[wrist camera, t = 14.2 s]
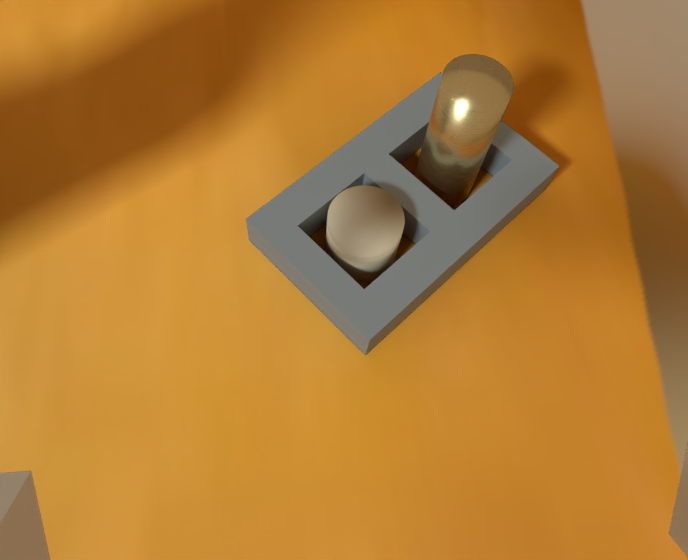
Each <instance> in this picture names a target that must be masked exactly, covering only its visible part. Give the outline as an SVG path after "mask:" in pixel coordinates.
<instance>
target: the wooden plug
mask: <svg viewBox="0 0 688 560" xmlns="http://www.w3.org/2000/svg"><path fill="white" fill-rule="evenodd" d="M404 225H405V217H404V212H403V209H402V207H401V205H400V204H399V202H398V201H397V200H396V198H395V197H394V196H392V195H391V194H390V193H388V192H387V191H385V190H383V189H381V188H378V187H374V186H367V185H361V186H354V187H351V188H348V189H346V190H344V191H342V192H341V193H339V194H338V195H337V196H336V197H335V198H334V199H333V201H332V202H331V204H330V206H329V209H328V215H327V228H326V243H325V252H326V253H327V254H328V255H329V256H330V257H331V258H332V259H333V260H334V261H335V262H336V263H337V264H338V265H339V266H340V267H341V268H342V269H343V270H345V271H346V272H347V273H348V274H349V275H350V276H351V277H352V278H353V279H354V280H355V281H369V280H373V279H376V278H378V277H379V276H380V275H381V274H382V273H383V272H385V271H386V270H387V269H388V268H389V267H390V266H391V265H392V264H393V263H394V260H395V257H396V253H397V250H398V247H399V243H400V240H401V236H402V233H403V229H404Z"/></svg>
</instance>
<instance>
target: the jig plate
mask: <svg viewBox="0 0 688 560" xmlns="http://www.w3.org/2000/svg"><path fill="white" fill-rule="evenodd" d="M441 78H442V73H441V72H440V73H438V74H437V75H436V76H434V77H433V78H432V79H431V80H429V81H428V82H427V83H425V84H424V85H423V86H421V87H420V88H419V89H417V90H416V91H415V92H413V93H412V94H411V95H409V96H408V97H407V98H405V99H404V100H403V101H401V102H400V103H399V104H397V105H396V106H395V107H393V108H392V109H391V110H390V111H388V112H387V113H386V114H384V115H383V116H382V117H380V118H379V119H378V120H376V121H375V122H374V123H372V124H371V125H370V126H368V127H367V128H366V129H364V130H363V131H362V132H360V133H359V134H358V135H356V136H355V137H354V138H352V139H351V140H350V141H349V142H347V143H346V144H345V145H343V146H342V147H341V148H339V149H338V150H337V151H335V152H334V153H333V154H331V155H330V156H329V157H327V158H326V159H325V160H323V161H322V162H321V163H319V164H318V165H317V166H315V167H314V168H313V169H311V170H310V171H309V172H308V173H306V174H305V175H304V176H302V177H301V178H300V179H298V180H297V181H296V182H294V183H293V184H292V185H290V186H289V187H288V188H286V189H285V190H284V191H282V192H281V193H280V194H278V195H277V196H276V197H274V198H273V199H272V200H270V201H269V202H268V203H267V204H265V205H264V206H263V207H261V208H260V209H259V210H257V211H256V212H255V213H253V214H252V215H251V216H249V217H248V218H247V219H246V222H247V228H248V235H249V240H250V241H251V242H252V243H253V244H254V245H255V246H256V247H257V248H258V249H259V250H260V251H261V252H262V253H263V254H264V255H265V256H266V257H267V258H268V259H269V260H270V261H271V262H272V263H273V264H274V265H275V266H276V267H277V268H278V269H279V270H280V271H281V272H282V273H283V274H284V275H285V276H286V277H287V278H288V279H289V280H290V281H291V282H292V283H293V284H294V285H295V286H296V287H297V288H298V289H299V290H300V291H301V292H302V293H303V294H304V295H305V296H306V297H307V298H308V299H309V300H310V301H311V302H312V303H313V304H314V305H315V306H316V307H317V308H318V309H319V310H320V311H321V312H322V313H323V314H324V315H325V316H326V317H327V318H328V319H329V320H330V321H331V322H332V323H333V324H334V325H335V326H336V327H337V328H338V329H340V330H341V331H342V332H343V333H344V334H345V335H346V336H347V337H348V338H349V339H350V340H351V341H352V342H353V343H354V344H355V345H356V346H357V347H358V348H359V349H360V350H361V351H362V352H363V353H364V354H365V355H366V354H367V353H368V352H370V351H371V350H372V349H373V348H374V347H375V346H376V345H377V344H378V343H379V342H380V341H381V340H383V339H384V338H385V337H386V336H387V335H388V334H389V333H390V332H391V331H392V330H393V329H394V328H396V327H397V326H398V325H399V324H400V323H401V322H402V321H403V320H404V319H405V318H406V317H407V316H409V315H410V314H411V313H412V312H413V311H414V310H415V309H416V308H417V307H418V306H419V305H420V304H421V303H423V302H424V301H425V300H426V299H427V298H428V297H429V296H430V295H431V294H432V293H433V292H434V291H436V290H437V289H438V288H439V287H440V286H441V285H442V284H443V283H444V282H445V281H446V280H447V279H449V278H450V277H451V276H452V275H453V274H454V273H455V272H456V271H457V270H458V269H459V268H460V267H461V266H463V265H464V264H465V263H466V262H467V261H468V260H469V259H470V258H471V257H472V256H473V255H474V254H476V253H477V252H478V251H479V250H480V249H481V248H482V247H483V246H484V245H485V244H486V243H487V242H489V241H490V240H491V239H492V238H493V237H494V236H495V235H496V234H497V233H498V232H499V231H500V230H501V229H503V228H504V227H505V226H506V225H507V224H508V223H509V222H510V221H511V220H512V219H513V218H514V217H516V216H517V215H518V214H519V213H520V212H521V211H522V210H523V209H524V208H525V207H526V206H527V205H529V204H530V203H531V202H532V201H533V200H534V199H535V198H536V197H537V196H538V195H539V194H540V193H542V192H543V191H544V190H545V189H546V187H547V186H548V184H549V183H550V181H551V179H552V178H553V176H554V175H555V173H556V171H557V170H558V168H559V167H560V166H559V165H558V164H556V163H555V162H554V161H553V160H551V159H550V158H549V157H548V156H546V155H545V154H544V153H543V152H541V151H540V150H539V149H537V148H536V147H535V146H534V145H532V144H531V143H530V142H529V141H527V140H526V139H525V138H523V137H522V136H521V135H520V134H518V133H517V132H516V131H515V130H513V129H512V128H511V127H510V126H508V125H507V124H506V123H504V122H503V121H502V120H501V121H500V124H499V126H498V128H497V131H496V133H495V135H494V137H493V140H492V142H491V144H490V147H489V149H488V151H487V154H486V156H485V158H484V161H483V163H482V165H481V167H482V168H484V169H485V170H486V171H487V172H488V173H490V174H491V175H492V176H493V177H492V178H491V179H490V180H489V181H487V182H486V183H485V184H484V185H483V186H482V187H481V188H479V189H478V190H477V191H476V192H475V193H474V194H473V195H471V196H470V197H469V198H468V199H467V200H466V201H465V202H463V203H462V204H461V205H460V206H459V207H458V208H457V209H455V210H453V209H452V208H451V207H450V206H448V205H447V204H446V203H445V202H444V201H443V200H441V199H440V198H439V197H438V196H437V195H436V194H435V193H433V192H432V191H431V190H430V189H429V188H428V187H426V186H425V185H424V184H423V183H422V182H421V181H419V180H418V179H417V178H416V177H415V176H414V175H412V174H411V173H410V172H409V171H408V170H407V169H405V168H404V167H403V166H402V165H401V163H402V162H403V161H405V160H406V159H407V158H408V157H410V156H411V155H412V154H413V153H415V152H416V151H417V150H418V149H420V148H421V147H422V146H423V142H424V139H425V135H426V131H427V128H428V124H429V121H430V117H431V114H432V110H433V106H434V103H435V99H436V96H437V92H438V88H439V85H440V81H441ZM361 185H367V186H374V187H378V188H381V189H383V190H385V191H387V192H388V193H390V194H391V195H392V196H394V197H395V198H396V200H397V201H398V202H399V204H400V205H401V207H402V209H403V212H404V217H405V225H404V229H403V234H404V235H405V236H406V237H408V238H409V239H410V240H411V241H412V242H413V243H414V244H415V245H414V246H413V247H412V248H411V249H410V250H409V251H407V252H406V253H405V254H404V255H403V256H402V257H401V258H399V259H398V260H397V261H396V262H395V263H394V264H393V265H391V266H390V267H389V268H388V269H387V270H386V271H385V272H383V273H382V274H381V275H380V276H379V277H378V278H377V279H375V280H374V281H373V282H372V283H371V284H370V285H369V286H367V287H366V288H365V289H363V288H362V287H361V286H360V285H359V284H358V283H357V282H356V281H355V280H354V279H353V278H352V277H351V276H350V275H349V274H348V273H347V272H346V271H345V270H343V269H342V268H341V267H340V266H339V265H338V264H337V263H336V262H335V261H334V260H333V259H332V258H331V257H330V256H329V255H328V254H327V253H326V252H325V251H324V250H322V249H321V248H320V247H319V246H318V245H317V244H316V243H315V242H314V241H313V240H312V239H311V238H310V236H311V235H312V234H314V233H315V232H316V231H317V230H319V229H320V228H321V227H322V226H324V225H325V224H326V223H327V215H328V209H329V206H330V204H331V202H332V201H333V199H334V198H335V197H336V196H337V195H338V194H339V193H341V192H342V191H344V190H346V189H348V188H351V187H354V186H361Z"/></svg>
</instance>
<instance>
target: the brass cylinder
mask: <svg viewBox="0 0 688 560" xmlns="http://www.w3.org/2000/svg"><path fill="white" fill-rule="evenodd" d="M513 90H514V83H513V79H512V76H511V74H510V73H509V71H508V70H507V69H506V68H505V67H504V66H503V65H502V64H501V63H499V62H498V61H496V60H494V59H492V58H490V57H487V56H484V55H477V54H468V55H462V56H459V57H457V58H455V59H453V60H452V61H450V62H449V63H448V64H447V65H446V67H445V69H444V71H443V74H442V78H441V81H440V85H439V88H438V92H437V96H436V99H435V103H434V106H433V110H432V114H431V117H430V121H429V124H428V128H427V131H426V135H425V139H424V142H423V146H422V149H421V153H420V157H419V160H418V164H417V167H416V171H415V175H414V176H415V177H416V178H417V179H418V180H419V181H421V182H422V183H423V184H424V185H425V186H426V187H428V188H429V189H430V190H431V191H432V192H433V193H435V194H436V195H437V196H438V197H439V198H440V199H441V200H443V201H444V202H445V203H446V204H447V205H448V206H452V205H456V204H458V203H460V202H462V201H463V200H464V199H465V198H466V197H467V196H468V195H469V193H470V190H471V188H472V186H473V184H474V181H475V179H476V177H477V174H478V172H479V170H480V167H481V165H482V163H483V161H484V158H485V156H486V154H487V151H488V149H489V147H490V144H491V142H492V140H493V137H494V135H495V133H496V131H497V128H498V126H499V124H500V121H501V119H502V117H503V114H504V112H505V110H506V108H507V105H508V103H509V101H510V98H511V96H512V94H513Z"/></svg>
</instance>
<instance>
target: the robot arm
mask: <svg viewBox="0 0 688 560" xmlns="http://www.w3.org/2000/svg"><path fill="white" fill-rule="evenodd" d="M669 534H670V536H671V537H672V538H673V539H674V541H675V542H676V543H677V544H678V546H679V547H680V548H681V549H682V551H683V552H684V553H685V554H686V556H687V557H688V442H687V447H686V452H685V457H684V462H683V467H682V472H681V477H680V482H679V486H678V491H677V496H676V501H675V506H674V511H673V516H672V521H671V526H670V531H669ZM0 560H50V556H49V552H48V547H47V542H46V538H45V533H44V528H43V524H42V519H41V514H40V510H39V505H38V500H37V496H36V491H35V486H34V482H33V477H32V473H31V471H21V472H6V473H0Z"/></svg>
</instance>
